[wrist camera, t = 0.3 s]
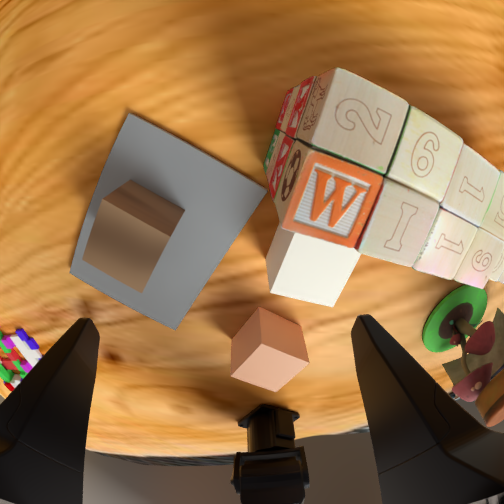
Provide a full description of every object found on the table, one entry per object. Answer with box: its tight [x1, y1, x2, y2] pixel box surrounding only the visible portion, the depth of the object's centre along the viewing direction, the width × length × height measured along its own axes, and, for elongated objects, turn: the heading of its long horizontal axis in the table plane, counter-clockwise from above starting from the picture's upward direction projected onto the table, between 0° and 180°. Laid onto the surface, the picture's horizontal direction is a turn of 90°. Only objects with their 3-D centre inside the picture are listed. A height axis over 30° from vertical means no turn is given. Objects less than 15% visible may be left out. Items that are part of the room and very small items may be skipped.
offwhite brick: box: [266, 222, 361, 307], centre depth 22 cm, size 5×5×5 cm
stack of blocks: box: [263, 67, 504, 289], centre depth 16 cm, size 21×6×12 cm, turn 73°
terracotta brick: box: [230, 307, 309, 392], centre depth 26 cm, size 5×5×5 cm
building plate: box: [70, 113, 267, 330], centre depth 23 cm, size 16×12×1 cm
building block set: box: [0, 329, 43, 391], centre depth 29 cm, size 25×20×4 cm
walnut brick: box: [82, 180, 185, 293], centre depth 20 cm, size 5×5×5 cm
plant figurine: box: [422, 284, 504, 427], centre depth 23 cm, size 12×13×15 cm
